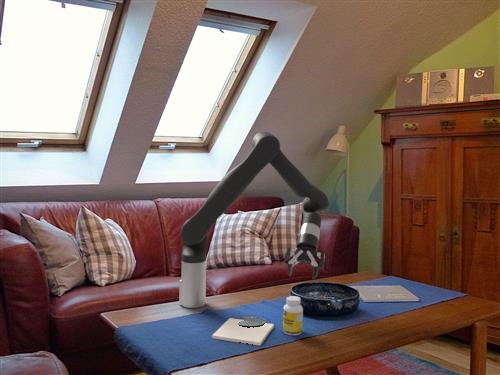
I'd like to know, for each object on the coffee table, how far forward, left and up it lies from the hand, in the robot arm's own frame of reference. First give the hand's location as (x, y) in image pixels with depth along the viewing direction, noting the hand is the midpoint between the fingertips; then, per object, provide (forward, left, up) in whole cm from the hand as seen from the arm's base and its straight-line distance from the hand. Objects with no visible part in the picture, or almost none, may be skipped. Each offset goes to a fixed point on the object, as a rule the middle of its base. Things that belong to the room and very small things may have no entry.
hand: (301, 276), depth 172 cm
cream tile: (-15, -18, -16) cm, 28 cm away
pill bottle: (0, -12, -16) cm, 20 cm away
